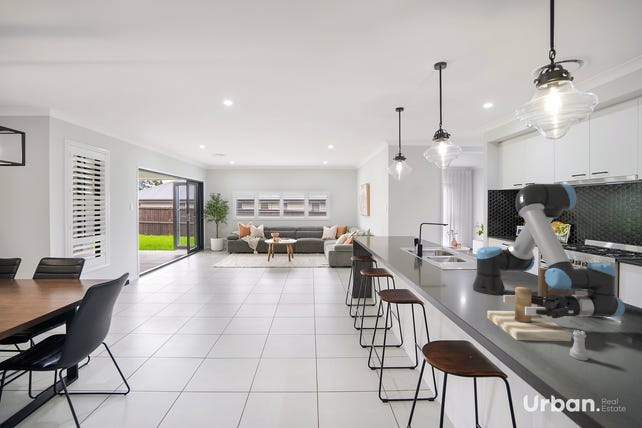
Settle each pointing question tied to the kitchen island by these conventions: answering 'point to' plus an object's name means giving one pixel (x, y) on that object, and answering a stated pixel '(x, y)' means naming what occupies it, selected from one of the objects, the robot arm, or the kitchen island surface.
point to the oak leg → (522, 304)
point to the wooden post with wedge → (544, 286)
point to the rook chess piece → (579, 346)
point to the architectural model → (581, 293)
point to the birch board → (529, 327)
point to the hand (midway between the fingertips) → (514, 304)
